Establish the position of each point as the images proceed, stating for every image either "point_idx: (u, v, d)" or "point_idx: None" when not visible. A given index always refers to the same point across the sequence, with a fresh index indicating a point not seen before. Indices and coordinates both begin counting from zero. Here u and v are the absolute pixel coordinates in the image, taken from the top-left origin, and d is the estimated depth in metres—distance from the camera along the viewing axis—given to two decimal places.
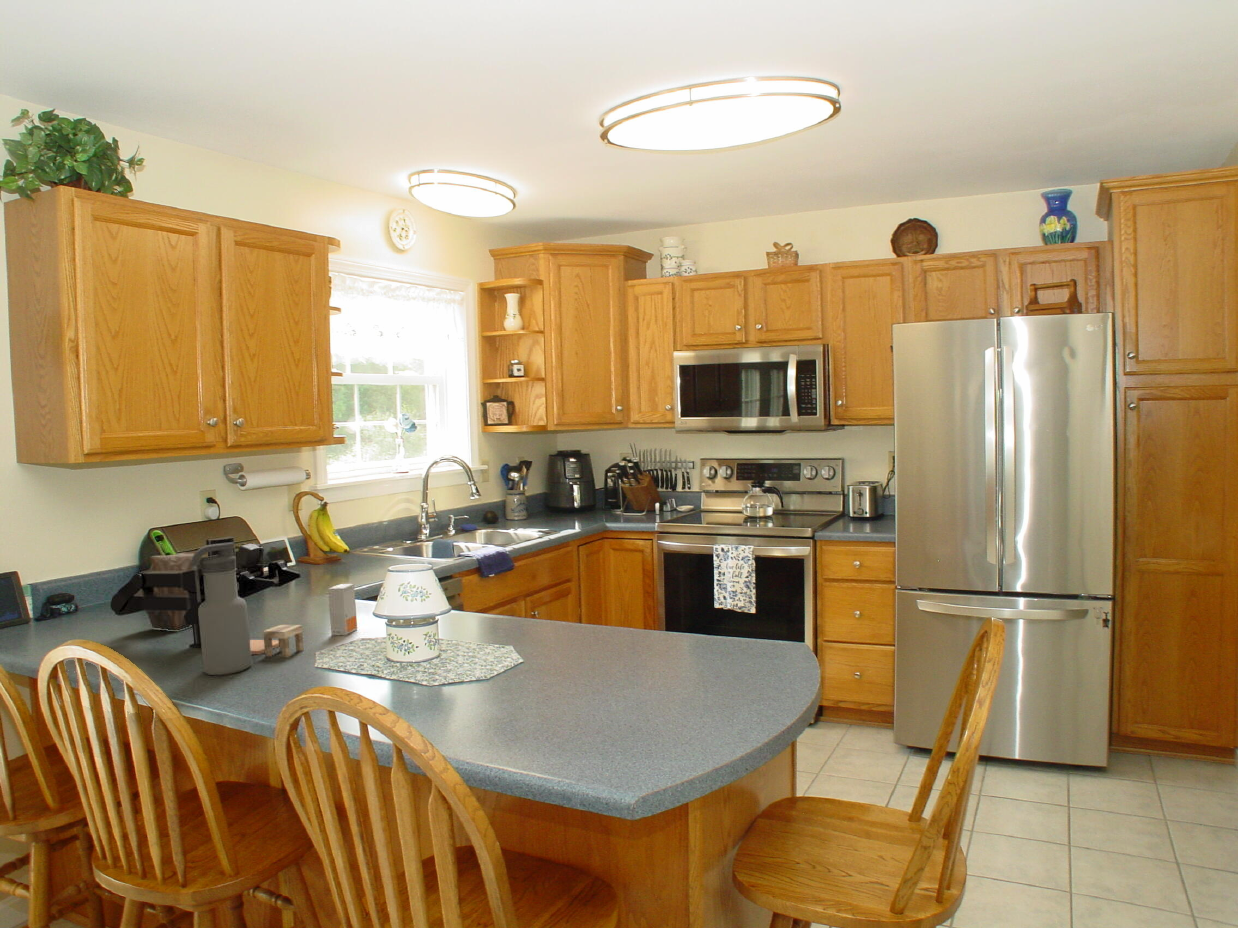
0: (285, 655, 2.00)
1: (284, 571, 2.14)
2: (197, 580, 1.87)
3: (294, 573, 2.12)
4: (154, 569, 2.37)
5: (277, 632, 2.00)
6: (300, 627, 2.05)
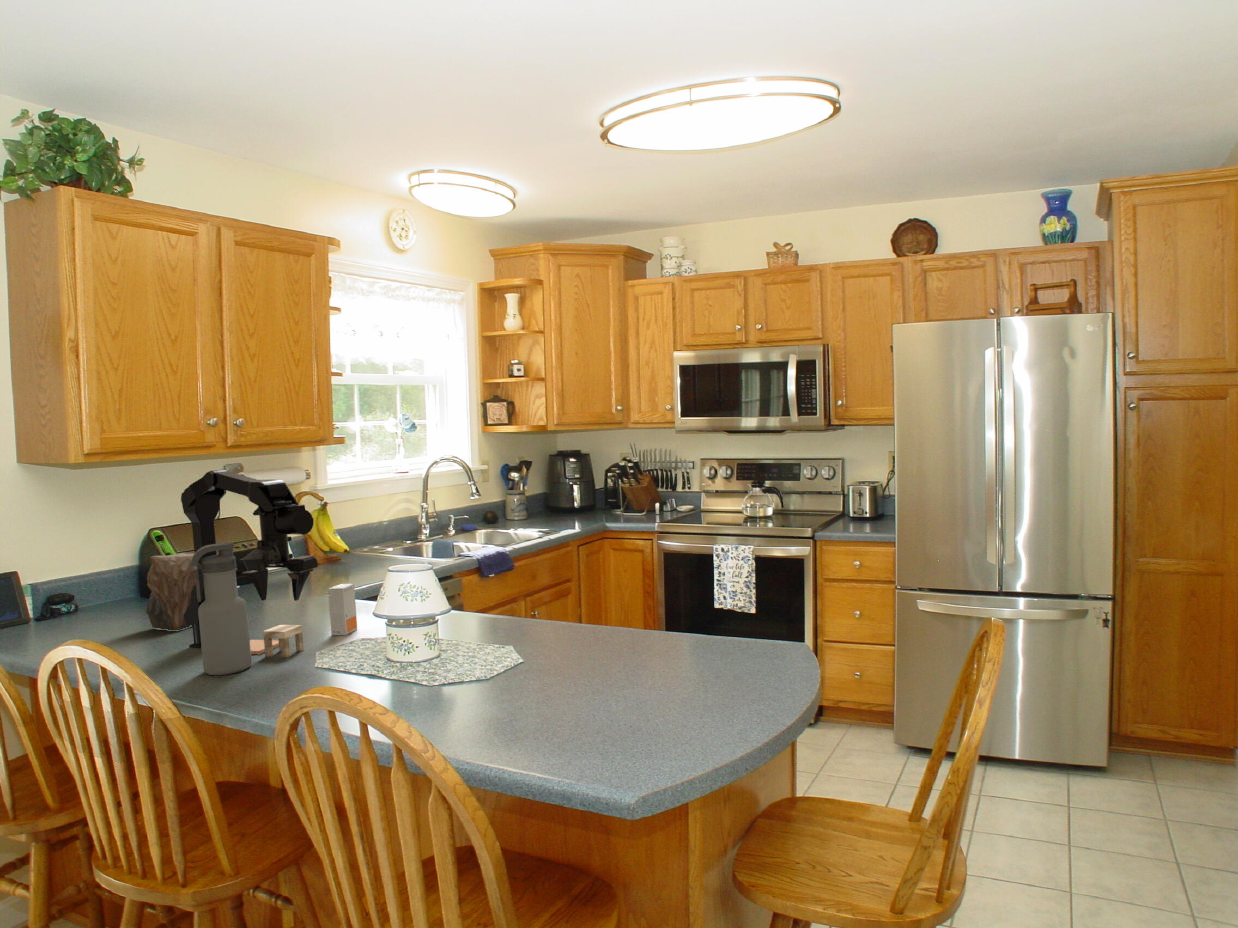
0: (285, 655, 2.00)
1: None
2: (197, 580, 1.87)
3: None
4: (154, 569, 2.37)
5: (277, 632, 2.00)
6: (300, 627, 2.05)
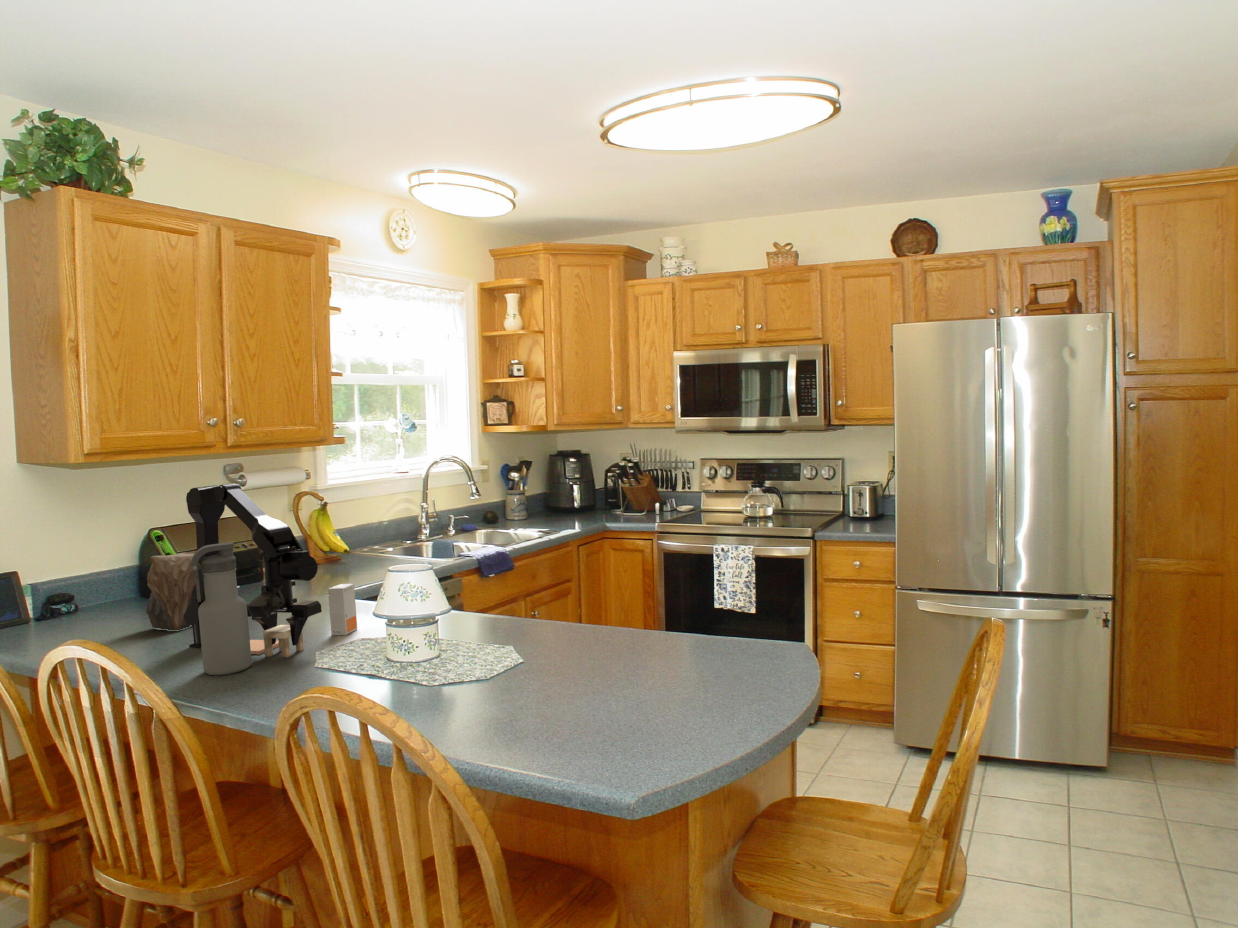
0: (285, 655, 2.00)
1: None
2: (197, 580, 1.87)
3: None
4: (154, 569, 2.37)
5: (277, 632, 2.00)
6: None
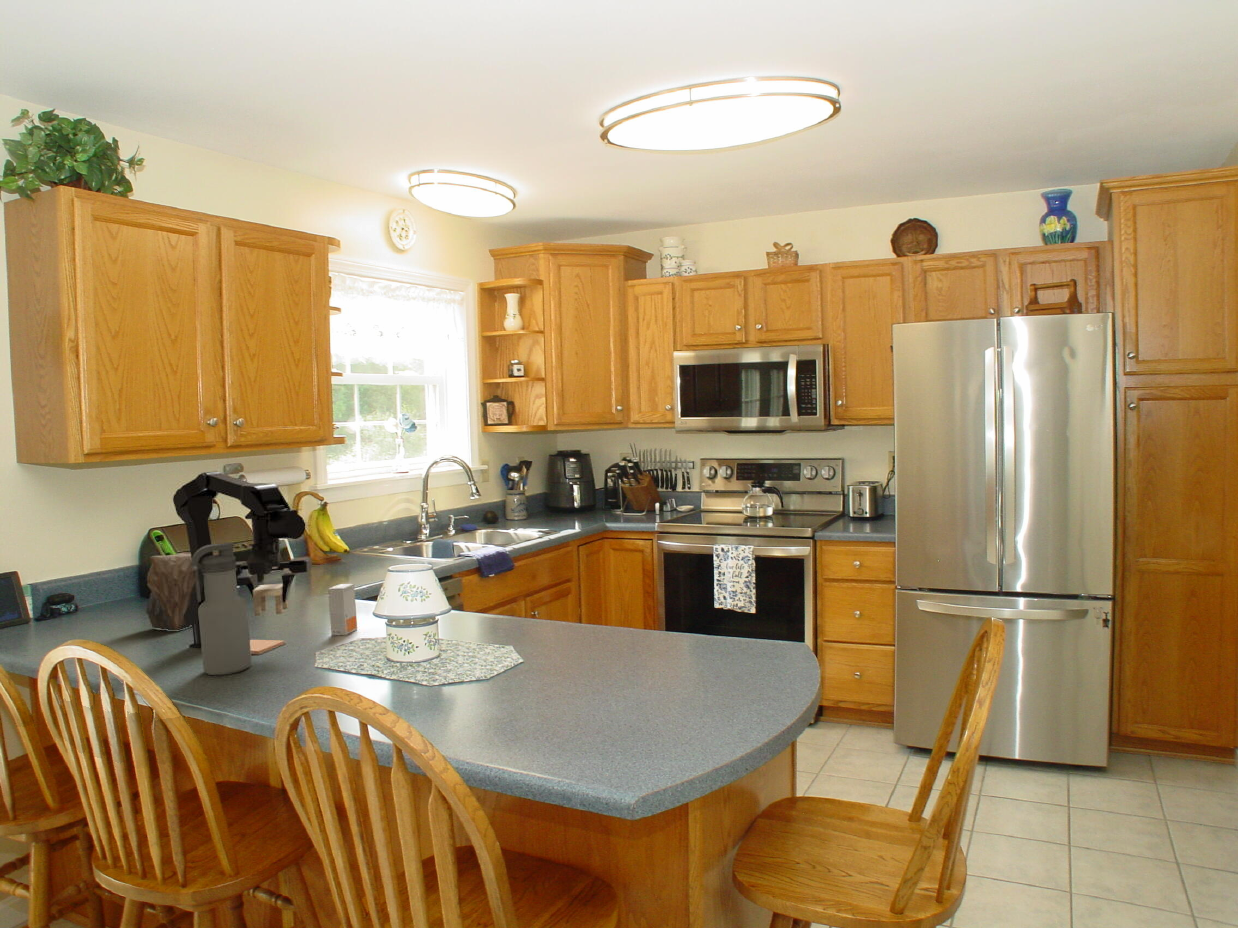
0: (279, 611, 2.02)
1: None
2: (197, 580, 1.87)
3: None
4: (154, 569, 2.37)
5: (270, 590, 2.02)
6: None
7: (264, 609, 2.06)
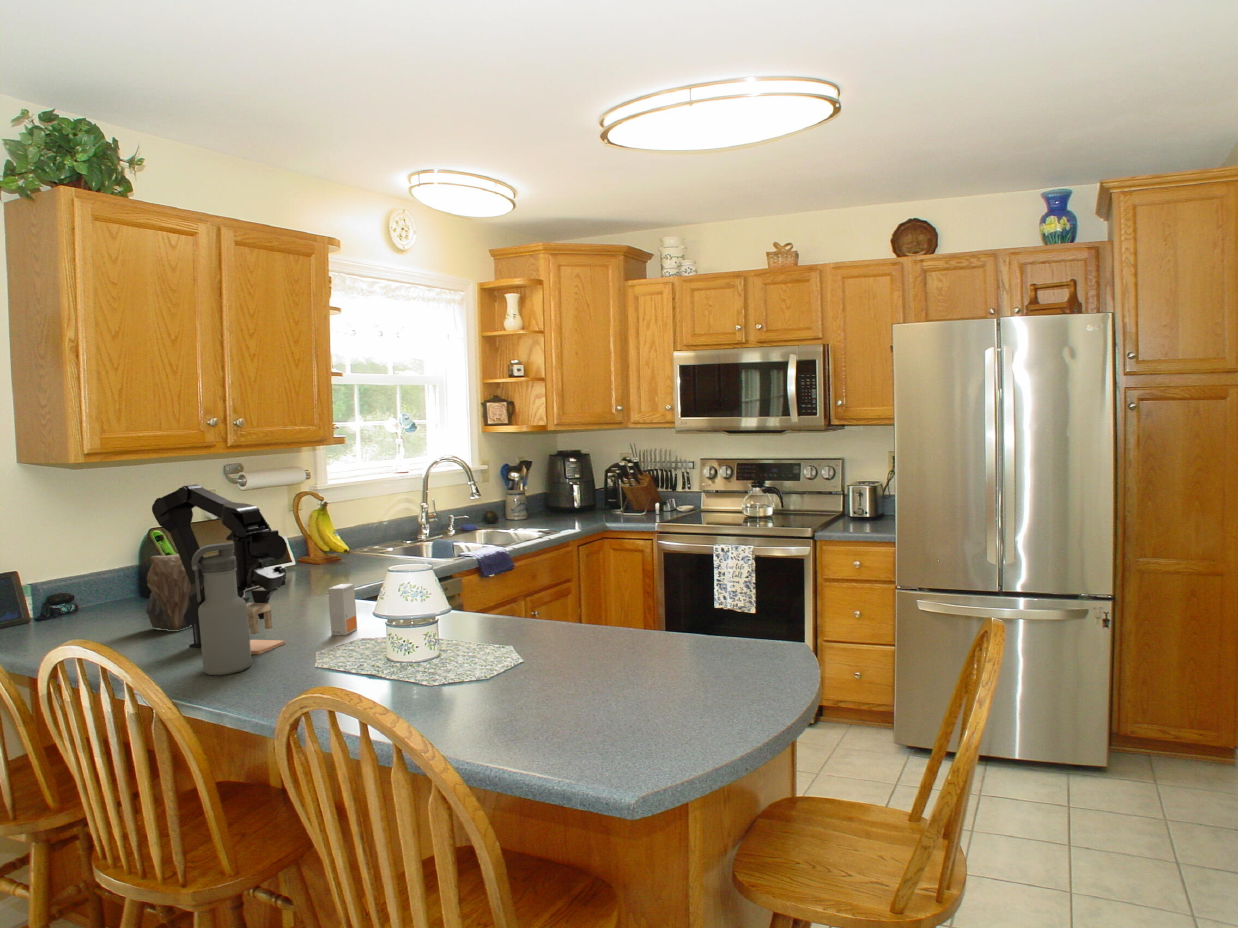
0: (271, 626, 2.11)
1: (263, 600, 2.12)
2: (197, 580, 1.87)
3: (262, 613, 2.12)
4: (154, 569, 2.37)
5: (264, 606, 2.09)
6: None
7: None
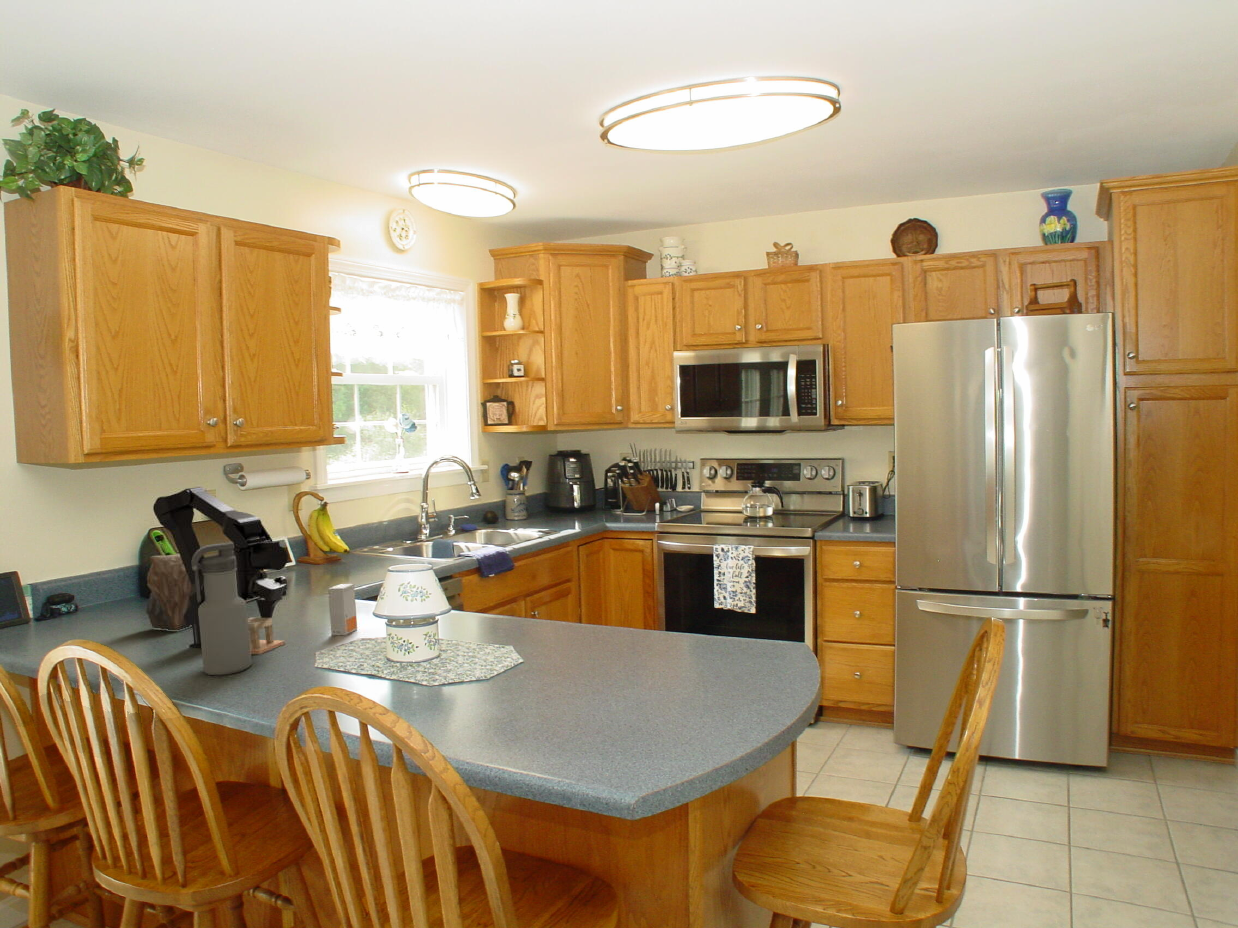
0: (272, 640, 2.11)
1: (268, 609, 2.14)
2: (197, 580, 1.87)
3: None
4: (154, 569, 2.37)
5: (266, 620, 2.10)
6: None
7: None
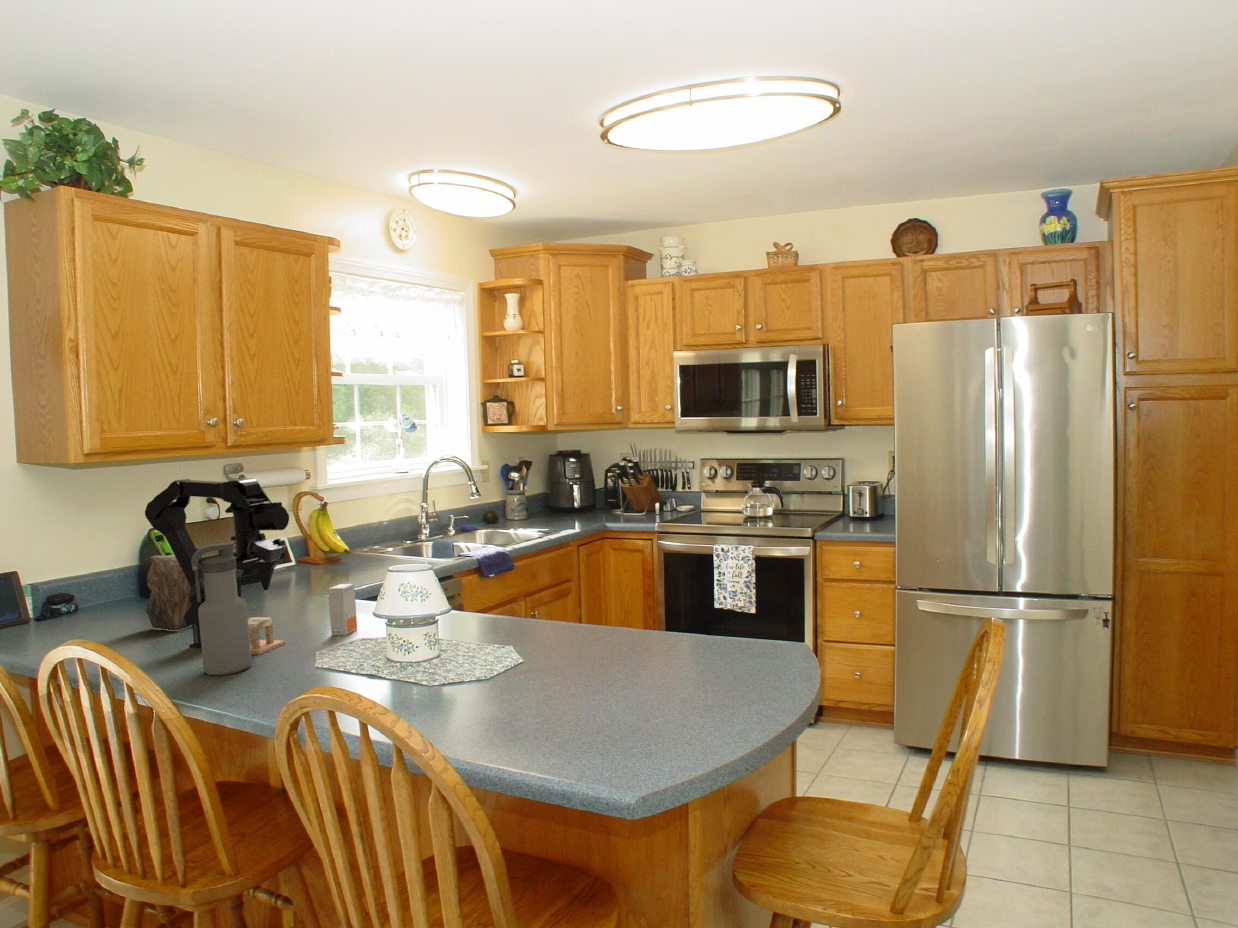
0: (272, 640, 2.11)
1: (268, 571, 2.15)
2: (197, 580, 1.87)
3: (266, 584, 2.15)
4: (154, 569, 2.37)
5: (266, 620, 2.10)
6: None
7: None
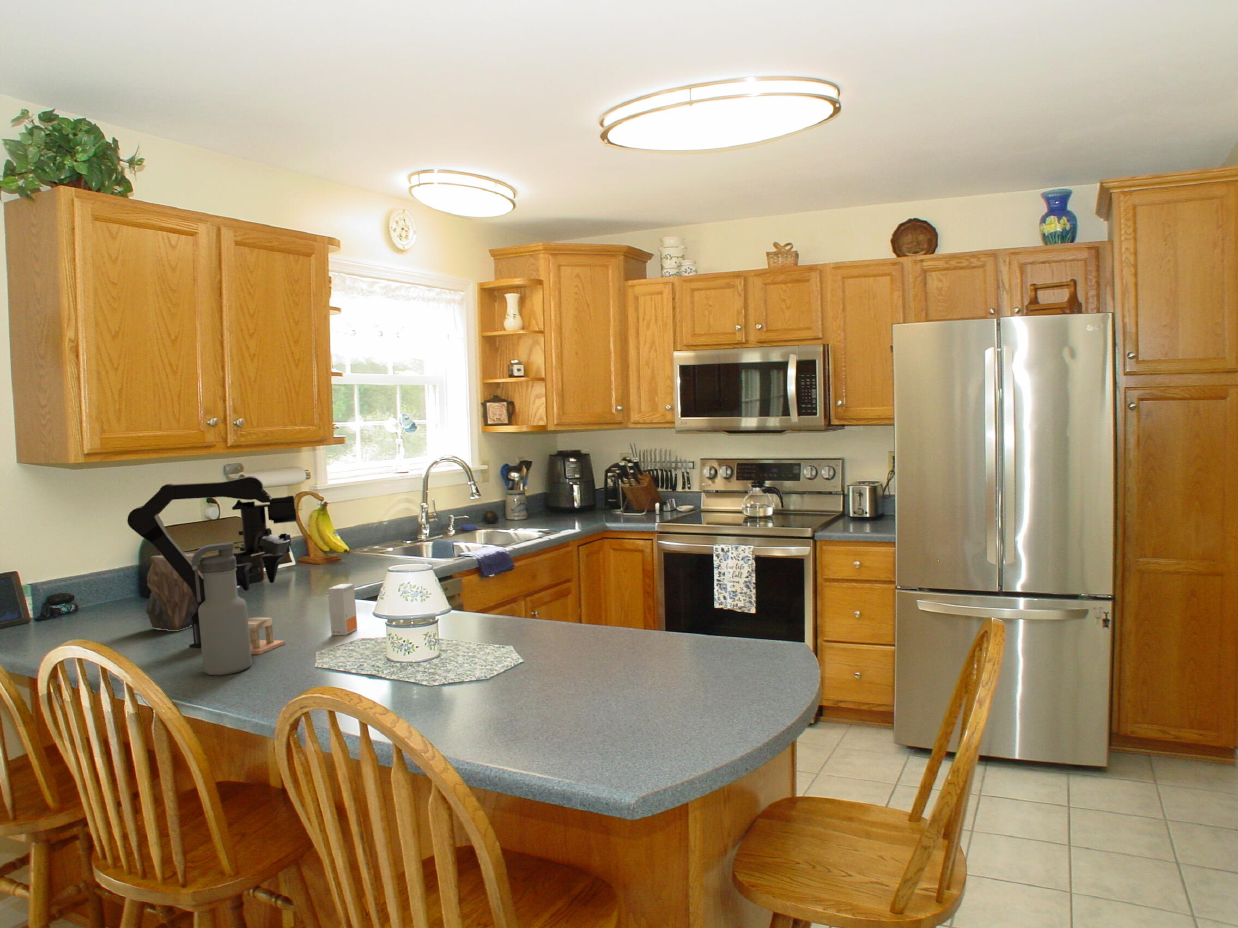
0: (272, 640, 2.11)
1: (274, 564, 2.24)
2: (197, 580, 1.87)
3: (272, 577, 2.24)
4: (154, 569, 2.37)
5: (266, 620, 2.10)
6: None
7: None
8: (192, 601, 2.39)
